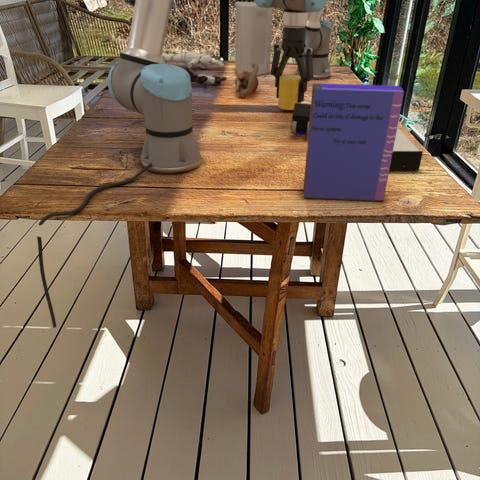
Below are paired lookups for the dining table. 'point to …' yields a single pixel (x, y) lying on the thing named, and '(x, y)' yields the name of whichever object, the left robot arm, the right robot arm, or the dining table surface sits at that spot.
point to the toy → (191, 59)
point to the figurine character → (301, 119)
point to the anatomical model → (247, 81)
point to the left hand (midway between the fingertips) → (289, 99)
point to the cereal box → (351, 141)
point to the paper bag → (253, 37)
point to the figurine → (204, 78)
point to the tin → (288, 91)
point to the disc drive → (405, 154)
